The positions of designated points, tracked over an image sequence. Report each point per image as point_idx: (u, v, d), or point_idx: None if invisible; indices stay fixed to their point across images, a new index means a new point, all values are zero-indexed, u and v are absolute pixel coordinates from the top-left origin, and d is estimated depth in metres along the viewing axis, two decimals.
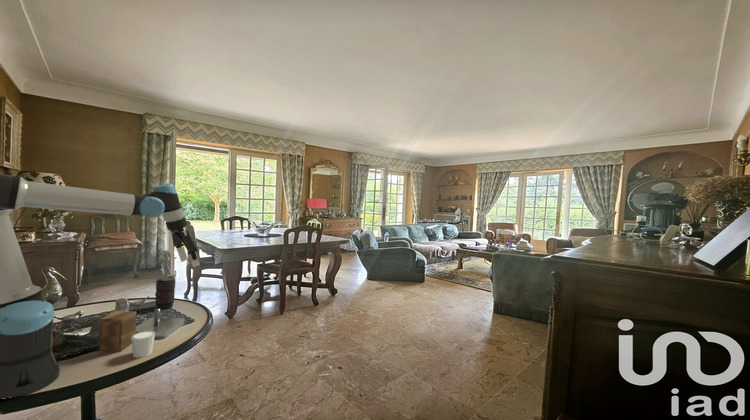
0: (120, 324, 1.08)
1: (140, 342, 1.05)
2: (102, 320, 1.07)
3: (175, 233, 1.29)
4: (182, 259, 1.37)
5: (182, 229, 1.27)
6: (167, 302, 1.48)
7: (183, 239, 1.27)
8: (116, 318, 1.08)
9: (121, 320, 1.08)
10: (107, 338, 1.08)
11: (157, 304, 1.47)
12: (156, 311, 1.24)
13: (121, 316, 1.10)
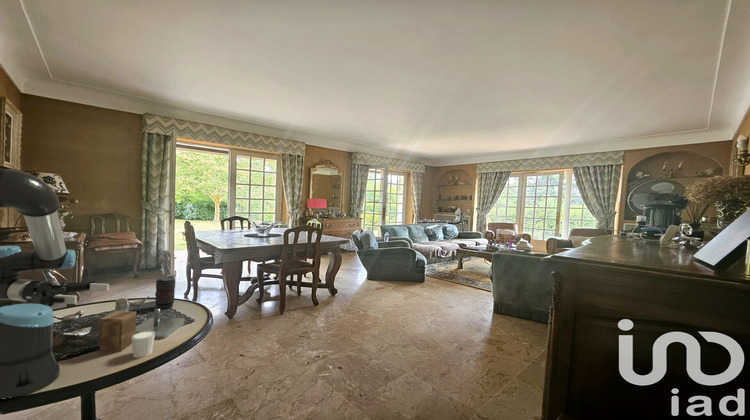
0: (120, 324, 1.08)
1: (140, 342, 1.05)
2: (102, 320, 1.07)
3: None
4: None
5: None
6: (167, 302, 1.48)
7: None
8: (116, 318, 1.08)
9: (121, 320, 1.08)
10: (107, 338, 1.08)
11: (157, 304, 1.47)
12: (156, 311, 1.24)
13: (121, 316, 1.10)
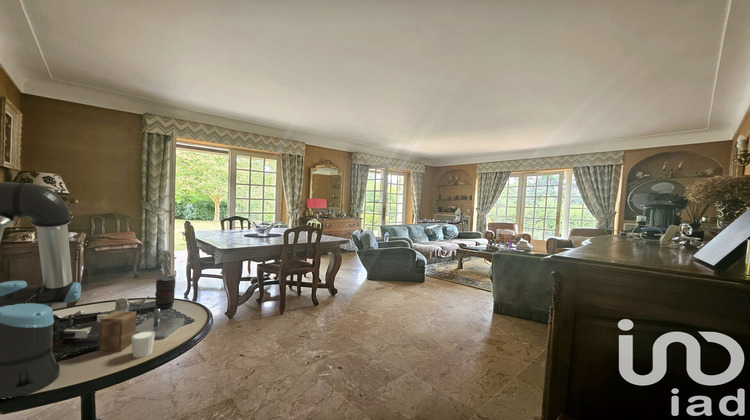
0: (120, 324, 1.08)
1: (140, 342, 1.05)
2: (102, 320, 1.07)
3: None
4: None
5: None
6: (167, 302, 1.48)
7: None
8: (116, 318, 1.08)
9: (121, 320, 1.08)
10: (107, 338, 1.08)
11: (157, 304, 1.47)
12: (156, 311, 1.24)
13: (121, 316, 1.10)
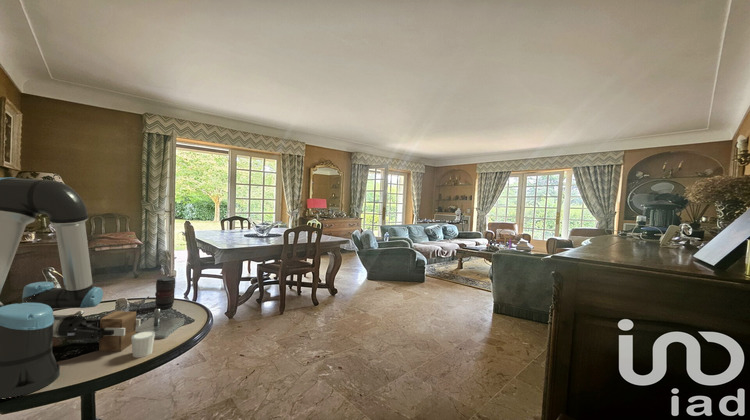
0: (120, 324, 1.08)
1: (140, 342, 1.05)
2: (102, 320, 1.07)
3: None
4: None
5: None
6: (167, 302, 1.48)
7: None
8: (116, 318, 1.08)
9: (121, 320, 1.08)
10: (107, 338, 1.08)
11: (157, 304, 1.47)
12: (156, 311, 1.24)
13: (121, 316, 1.10)
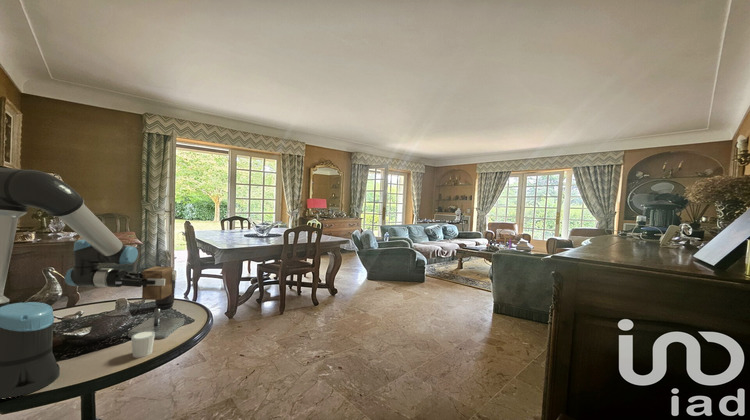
0: (160, 275, 1.22)
1: (140, 342, 1.05)
2: (144, 272, 1.21)
3: None
4: None
5: None
6: (167, 302, 1.48)
7: None
8: (157, 270, 1.22)
9: (161, 272, 1.22)
10: (149, 287, 1.21)
11: (157, 304, 1.47)
12: (156, 311, 1.24)
13: (160, 269, 1.24)
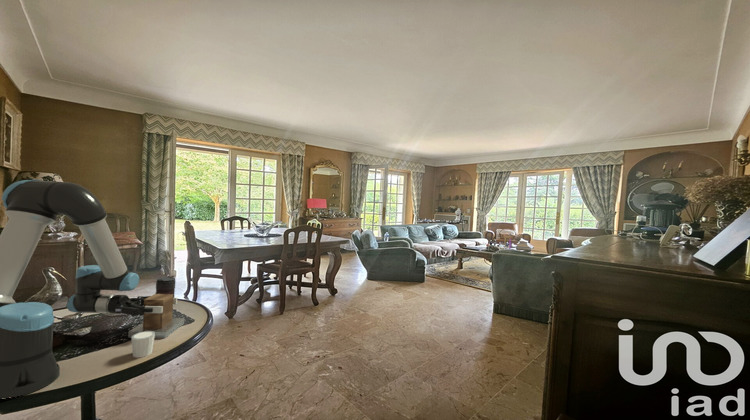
0: (161, 304, 1.22)
1: (140, 342, 1.05)
2: (145, 301, 1.22)
3: None
4: None
5: None
6: None
7: None
8: (157, 299, 1.23)
9: (162, 301, 1.23)
10: (150, 316, 1.22)
11: None
12: None
13: (161, 297, 1.25)
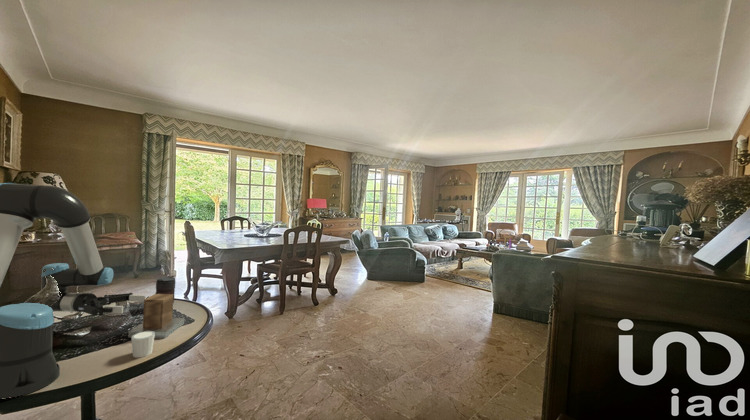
0: (161, 304, 1.22)
1: (140, 342, 1.05)
2: (145, 301, 1.22)
3: None
4: None
5: None
6: None
7: None
8: (157, 299, 1.23)
9: (162, 301, 1.23)
10: (150, 316, 1.22)
11: None
12: None
13: (161, 297, 1.25)
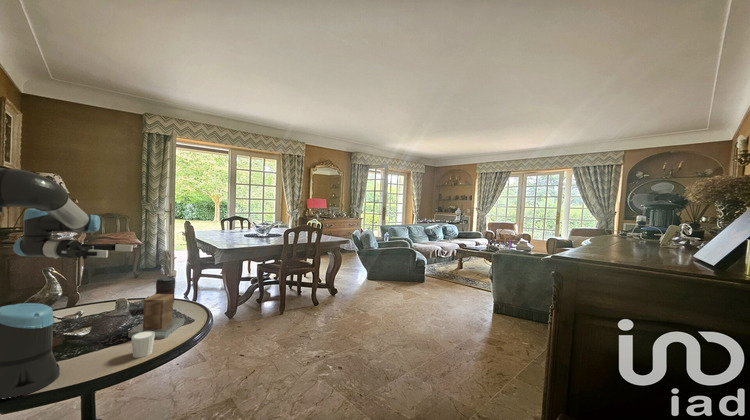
0: (161, 304, 1.22)
1: (140, 342, 1.05)
2: (145, 301, 1.22)
3: None
4: None
5: None
6: None
7: None
8: (157, 299, 1.23)
9: (162, 301, 1.23)
10: (150, 316, 1.22)
11: None
12: None
13: (161, 297, 1.25)
